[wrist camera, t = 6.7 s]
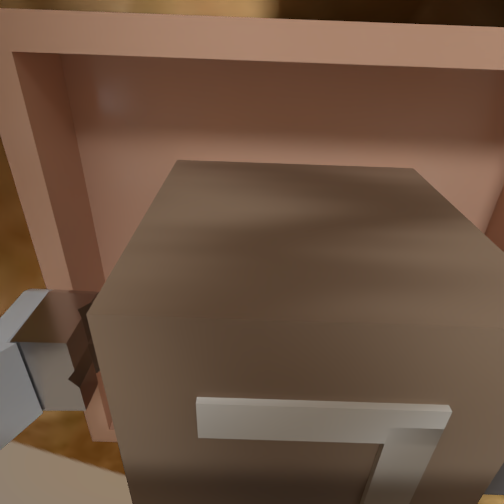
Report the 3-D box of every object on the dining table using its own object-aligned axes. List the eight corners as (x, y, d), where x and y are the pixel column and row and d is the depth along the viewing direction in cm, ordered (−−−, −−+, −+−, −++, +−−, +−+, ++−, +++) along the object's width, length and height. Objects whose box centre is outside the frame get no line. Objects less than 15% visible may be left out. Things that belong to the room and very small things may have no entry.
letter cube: (413, 168, 9) (594, 337, 4) (368, 341, 12) (445, 563, 7) (177, 159, 9) (82, 320, 4) (189, 335, 12) (142, 553, 7)
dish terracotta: (576, 31, 8) (677, 33, 6) (429, 393, 14) (456, 452, 12) (33, 10, 8) (-39, 6, 6) (115, 383, 14) (92, 441, 12)
